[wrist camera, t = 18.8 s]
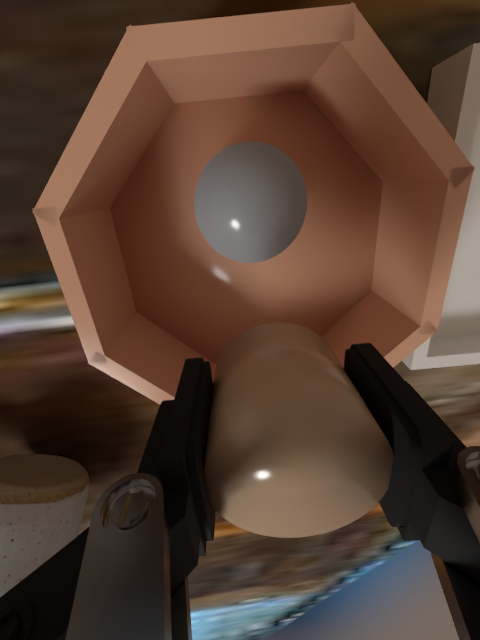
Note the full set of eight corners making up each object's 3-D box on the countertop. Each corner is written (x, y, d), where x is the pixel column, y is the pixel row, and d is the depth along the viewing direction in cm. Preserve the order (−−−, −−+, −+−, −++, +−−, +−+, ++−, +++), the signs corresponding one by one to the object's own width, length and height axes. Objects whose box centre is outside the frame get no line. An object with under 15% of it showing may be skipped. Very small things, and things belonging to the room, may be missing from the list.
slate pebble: (196, 157, 14) (185, 147, 10) (287, 148, 14) (307, 135, 10) (209, 248, 16) (202, 267, 12) (289, 241, 16) (306, 257, 12)
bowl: (66, 94, 13) (-31, 40, 8) (408, 60, 13) (516, -16, 8) (144, 375, 20) (115, 438, 15) (372, 354, 20) (420, 411, 15)
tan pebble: (206, 328, 10) (189, 415, 6) (340, 316, 9) (408, 397, 6) (221, 429, 11) (215, 543, 8) (334, 420, 11) (382, 531, 8)
